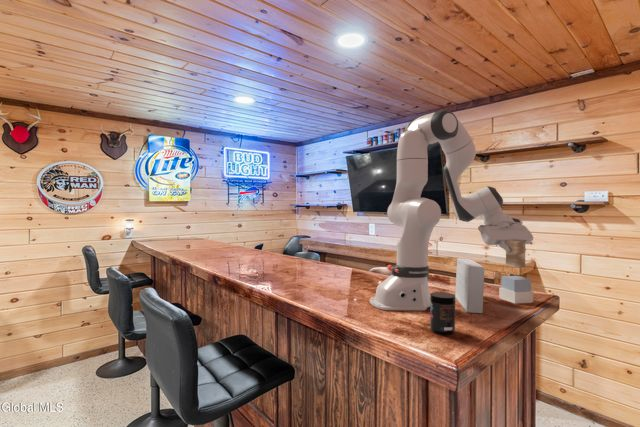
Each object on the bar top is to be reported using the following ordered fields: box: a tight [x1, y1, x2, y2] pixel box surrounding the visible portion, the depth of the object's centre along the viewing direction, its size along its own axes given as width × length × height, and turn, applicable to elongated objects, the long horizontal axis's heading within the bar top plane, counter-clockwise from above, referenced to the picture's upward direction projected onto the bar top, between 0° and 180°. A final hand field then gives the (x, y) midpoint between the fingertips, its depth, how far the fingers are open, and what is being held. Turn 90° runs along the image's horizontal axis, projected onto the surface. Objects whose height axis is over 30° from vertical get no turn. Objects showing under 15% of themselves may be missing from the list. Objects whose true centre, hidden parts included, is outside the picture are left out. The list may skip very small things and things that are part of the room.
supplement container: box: [429, 291, 456, 336], centre depth 95 cm, size 7×7×10 cm
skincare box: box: [454, 257, 485, 314], centre depth 122 cm, size 21×5×16 cm, turn 168°
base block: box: [498, 286, 534, 305], centre depth 129 cm, size 8×8×4 cm
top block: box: [501, 275, 532, 292], centre depth 129 cm, size 7×7×4 cm
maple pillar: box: [505, 240, 526, 269], centre depth 129 cm, size 5×5×10 cm
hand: (516, 251), depth 129 cm, fingers closed on maple pillar, 5 cm apart
